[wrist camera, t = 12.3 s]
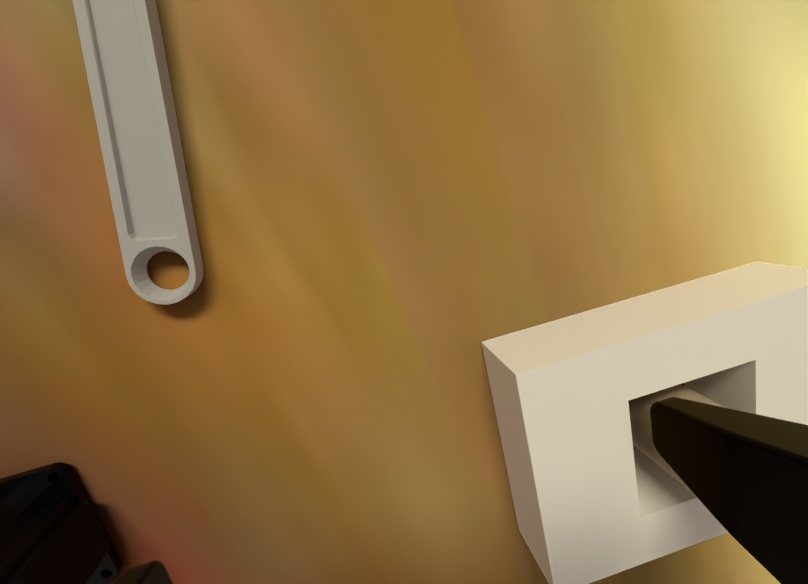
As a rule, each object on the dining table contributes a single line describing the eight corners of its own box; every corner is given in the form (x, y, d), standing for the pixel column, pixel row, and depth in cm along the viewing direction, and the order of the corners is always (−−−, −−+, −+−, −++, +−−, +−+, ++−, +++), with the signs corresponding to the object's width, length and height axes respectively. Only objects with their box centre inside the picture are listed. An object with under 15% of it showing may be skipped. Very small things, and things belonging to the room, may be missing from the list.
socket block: (518, 529, 23) (555, 596, 19) (481, 341, 20) (515, 374, 16) (757, 446, 24) (836, 491, 20) (756, 261, 21) (848, 273, 18)
